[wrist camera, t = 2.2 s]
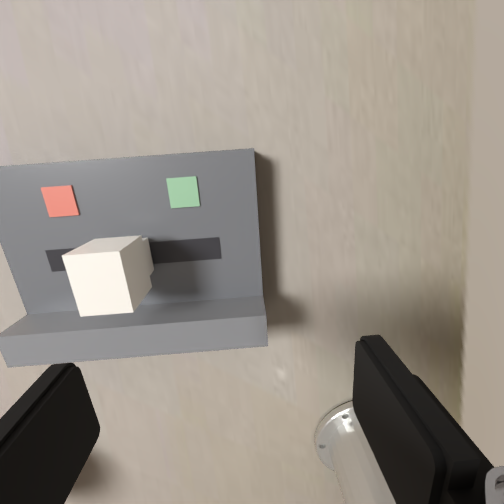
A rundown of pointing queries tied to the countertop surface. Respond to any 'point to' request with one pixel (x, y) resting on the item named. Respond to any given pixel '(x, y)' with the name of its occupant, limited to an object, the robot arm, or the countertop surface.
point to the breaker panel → (161, 246)
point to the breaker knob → (110, 274)
